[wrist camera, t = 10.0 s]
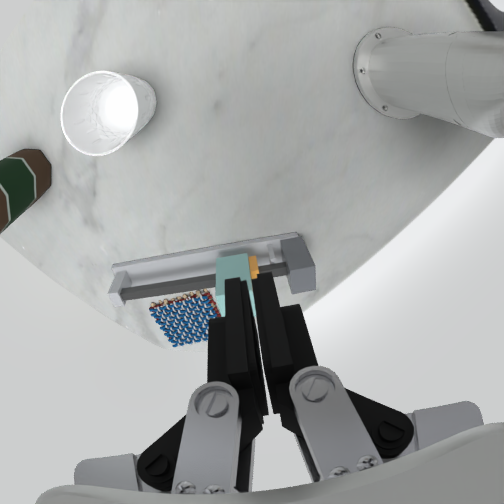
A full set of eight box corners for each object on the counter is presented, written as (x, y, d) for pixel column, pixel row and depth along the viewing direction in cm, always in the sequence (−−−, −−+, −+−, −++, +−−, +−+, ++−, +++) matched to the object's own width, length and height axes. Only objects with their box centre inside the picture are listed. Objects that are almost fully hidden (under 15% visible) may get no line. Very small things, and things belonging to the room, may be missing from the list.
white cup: (154, 140, 32) (129, 162, 24) (95, 131, 31) (56, 150, 22) (169, 77, 28) (147, 75, 20) (107, 69, 27) (67, 69, 18)
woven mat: (230, 329, 50) (231, 337, 49) (175, 341, 51) (174, 350, 49) (209, 284, 45) (208, 293, 43) (148, 300, 46) (145, 309, 44)
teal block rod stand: (300, 231, 41) (315, 264, 34) (301, 255, 43) (315, 290, 36) (113, 264, 41) (96, 299, 34) (122, 285, 43) (109, 321, 36)
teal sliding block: (247, 253, 38) (252, 290, 32) (251, 277, 40) (257, 316, 34) (216, 258, 38) (215, 295, 32) (222, 282, 40) (223, 321, 34)
